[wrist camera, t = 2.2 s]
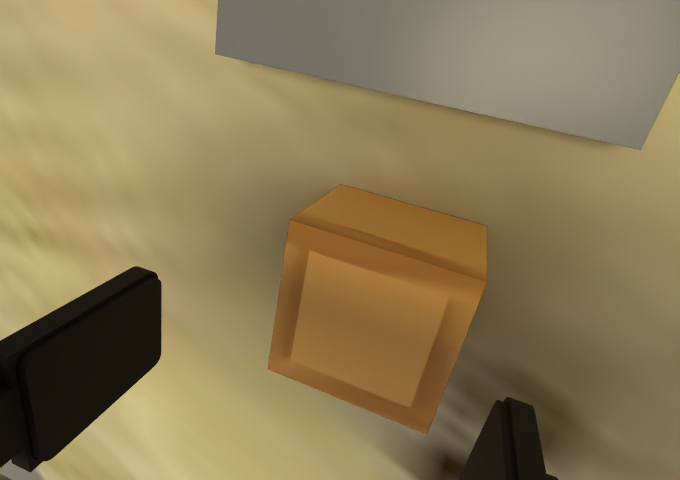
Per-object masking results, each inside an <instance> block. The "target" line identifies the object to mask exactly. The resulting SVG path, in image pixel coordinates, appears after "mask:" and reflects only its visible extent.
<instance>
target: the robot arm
mask: <svg viewBox="0 0 680 480" xmlns="http://www.w3.org/2000/svg"><path fill="white" fill-rule="evenodd" d="M160 356H161V281H160V280H159V279H158V276H157V274H156V273H155V272H152V271H149V270H146V269H144V268H141V267H136V266H135V267H132V268H130V269H129V270H127V271H125V272H123V273H121V274H120V275H118V276H116V277H114V278H112V279H111V280H109V281H107V282H105V283H103V284H102V285H100V286H98V287H96V288H94V289H93V290H91V291H89V292H87V293H85V294H84V295H82V296H80V297H78V298H76V299H75V300H73V301H71V302H69V303H67V304H66V305H64V306H62V307H60V308H58V309H57V310H55V311H53V312H51V313H49V314H48V315H46V316H44V317H42V318H40V319H39V320H37V321H35V322H33V323H31V324H30V325H28V326H26V327H24V328H22V329H21V330H19V331H17V332H15V333H13V334H12V335H10V336H8V337H6V338H4V339H3V340H1V341H0V471H1V468H2V466H3V465H4V464H5V463H7V462H8V461H9V460H10V459H11V460H12V463H13V464H15V465H17V466H19V467H21V468H23V469H25V470H27V471H29V472H31V471H33V470H34V469H35V468H36V467H37V466H38V465H39V464H40V463H42V462H43V461H48V460H50V459H52V458H53V457H54V456H56V455H57V454H58V453H59V452H60V451H61V450H62V449H63V448H65V447H66V446H67V445H68V444H69V443H70V442H71V441H72V440H73V439H74V438H76V437H77V436H78V435H79V434H80V433H81V432H82V431H83V430H84V429H86V428H87V427H88V426H89V425H90V424H91V423H92V422H93V421H94V420H95V419H97V418H98V417H99V416H100V415H101V414H102V413H103V412H104V411H105V410H107V409H108V408H109V407H110V406H111V405H112V404H113V403H114V402H115V401H116V400H118V399H119V398H120V397H121V396H122V395H123V394H124V393H125V392H126V391H128V390H129V389H130V388H131V387H132V386H133V385H134V384H135V383H136V382H137V381H139V380H140V379H141V378H142V377H143V376H144V375H145V374H146V373H147V372H149V371H150V370H151V369H152V368H153V367H154V366H155V365H156V364H157V362H158V361H159V359H160ZM0 480H11V479H9V478H7V477H5V476H3V475H1V474H0ZM460 480H558V479H557V477H554V476H551V475H549V474H546V470H545V465H544V459H543V454H542V449H541V443H540V438H539V432H538V427H537V422H536V416H535V411H534V408H533V406H532V405H529V404H526V403H524V402H521V401H518V400H515V399H512V398H509V397H507V398H506V399H505V400H504V402H502V401H499V400H496V401H495V403H494V405H493V407H492V409H491V411H490V414H489V416H488V418H487V420H486V422H485V424H484V426H483V428H482V431H481V433H480V435H479V437H478V439H477V441H476V443H475V445H474V447H473V450H472V452H471V454H470V456H469V458H468V460H467V462H466V464H465V466H464V469H463V471H462V473H461V476H460Z"/></svg>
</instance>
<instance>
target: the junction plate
mask: <svg viewBox="0 0 680 480" xmlns="http://www.w3.org/2000/svg"><path fill="white" fill-rule="evenodd" d="M215 54H217V55H221V56H226V57H230V58H235V59H239V60H244V61H248V62H252V63H257V64H261V65H266V66H270V67H275V68H279V69H283V70H288V71H292V72H297V73H301V74H306V75H310V76H314V77H319V78H323V79H328V80H332V81H337V82H341V83H345V84H350V85H354V86H359V87H363V88H368V89H372V90H376V91H381V92H385V93H390V94H394V95H399V96H403V97H408V98H412V99H416V100H421V101H425V102H430V103H434V104H439V105H443V106H447V107H452V108H456V109H461V110H465V111H470V112H474V113H478V114H483V115H487V116H492V117H496V118H501V119H505V120H509V121H514V122H518V123H523V124H527V125H532V126H536V127H540V128H545V129H549V130H554V131H558V132H563V133H567V134H571V135H576V136H580V137H585V138H589V139H594V140H598V141H602V142H607V143H611V144H616V145H620V146H625V147H629V148H633V149H638V150H641V148H642V146H643V144H644V142H645V140H646V138H647V136H648V134H649V132H650V130H651V128H652V126H653V124H654V122H655V120H656V118H657V116H658V114H659V112H660V110H661V108H662V106H663V104H664V102H665V100H666V98H667V96H668V94H669V92H670V90H671V88H672V86H673V84H674V82H675V80H676V78H677V76H678V74H679V72H680V0H218V12H217V30H216V47H215Z"/></svg>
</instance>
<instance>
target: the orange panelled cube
mask: <svg viewBox="0 0 680 480" xmlns="http://www.w3.org/2000/svg"><path fill="white" fill-rule="evenodd" d="M486 283H487V226H485V225H481V224H478V223H474V222H471V221H467V220H464V219H460V218H457V217H453V216H450V215H446V214H443V213H439V212H436V211H432V210H429V209H425V208H422V207H418V206H415V205H411V204H408V203H404V202H401V201H397V200H394V199H390V198H387V197H383V196H380V195H376V194H373V193H369V192H366V191H362V190H359V189H355V188H352V187H348V186H345V185H340V186H338V187H337V188H335V189H334V190H332V191H331V192H330V193H328V194H327V195H325V196H324V197H322V198H321V199H319V200H318V201H316V202H315V203H314V204H312V205H311V206H309V207H308V208H306V209H305V210H303V211H302V212H301V213H299V214H298V215H296V216H295V217H293V218H292V219H290V222H289V229H288V236H287V242H286V249H285V256H284V262H283V269H282V276H281V282H280V289H279V296H278V303H277V309H276V316H275V323H274V329H273V336H272V343H271V349H270V356H269V363H268V369H269V370H271V371H274V372H276V373H278V374H281V375H283V376H286V377H288V378H291V379H293V380H295V381H298V382H300V383H303V384H305V385H308V386H310V387H313V388H315V389H317V390H320V391H322V392H325V393H327V394H330V395H332V396H334V397H337V398H339V399H342V400H344V401H347V402H349V403H352V404H354V405H356V406H359V407H361V408H364V409H366V410H369V411H371V412H373V413H376V414H378V415H381V416H383V417H386V418H388V419H391V420H393V421H395V422H398V423H400V424H403V425H405V426H408V427H410V428H412V429H415V430H417V431H420V432H422V433H425V434H427V433H428V431H429V428H430V426H431V423H432V421H433V418H434V415H435V413H436V410H437V408H438V405H439V403H440V400H441V398H442V395H443V393H444V390H445V387H446V385H447V382H448V380H449V377H450V375H451V372H452V370H453V367H454V365H455V362H456V359H457V357H458V354H459V352H460V349H461V347H462V344H463V342H464V339H465V337H466V334H467V332H468V329H469V326H470V324H471V321H472V319H473V316H474V314H475V311H476V309H477V306H478V304H479V301H480V298H481V296H482V293H483V291H484V288H485V286H486Z"/></svg>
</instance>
